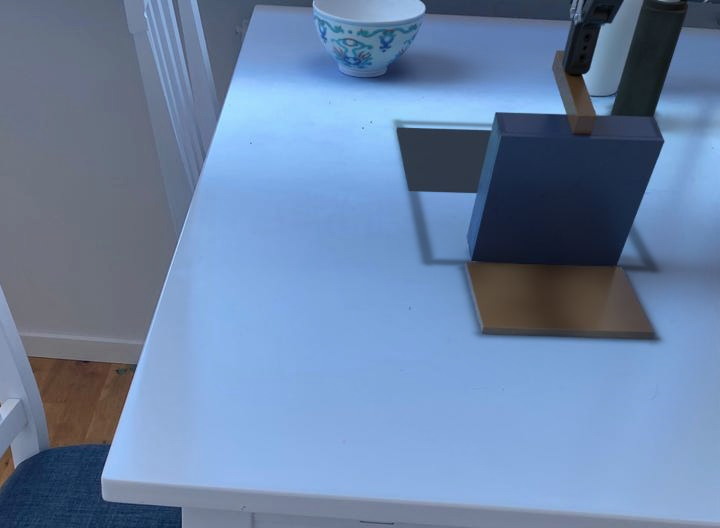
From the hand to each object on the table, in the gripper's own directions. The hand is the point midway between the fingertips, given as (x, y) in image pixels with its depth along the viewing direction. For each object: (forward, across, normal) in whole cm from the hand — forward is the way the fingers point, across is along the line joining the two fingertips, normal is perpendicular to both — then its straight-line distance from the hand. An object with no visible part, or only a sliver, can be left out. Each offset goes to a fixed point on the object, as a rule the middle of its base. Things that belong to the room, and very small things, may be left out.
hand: (574, 70), depth 83 cm
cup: (+17, +48, -17) cm, 53 cm away
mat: (+16, +12, 0) cm, 21 cm away
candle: (+17, +36, -19) cm, 44 cm away
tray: (+8, -7, 0) cm, 11 cm away
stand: (+16, -12, 0) cm, 20 cm away
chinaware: (+17, +52, +14) cm, 57 cm away
